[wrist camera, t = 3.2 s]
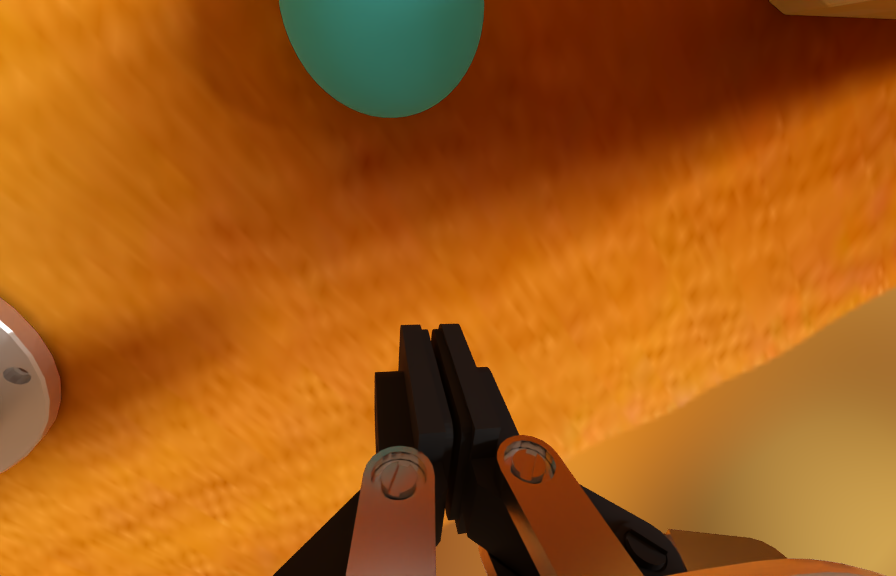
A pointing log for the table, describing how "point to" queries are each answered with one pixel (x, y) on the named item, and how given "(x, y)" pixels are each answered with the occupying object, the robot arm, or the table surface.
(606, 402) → the table surface
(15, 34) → the table surface
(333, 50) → the ball
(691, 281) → the table surface
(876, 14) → the book
